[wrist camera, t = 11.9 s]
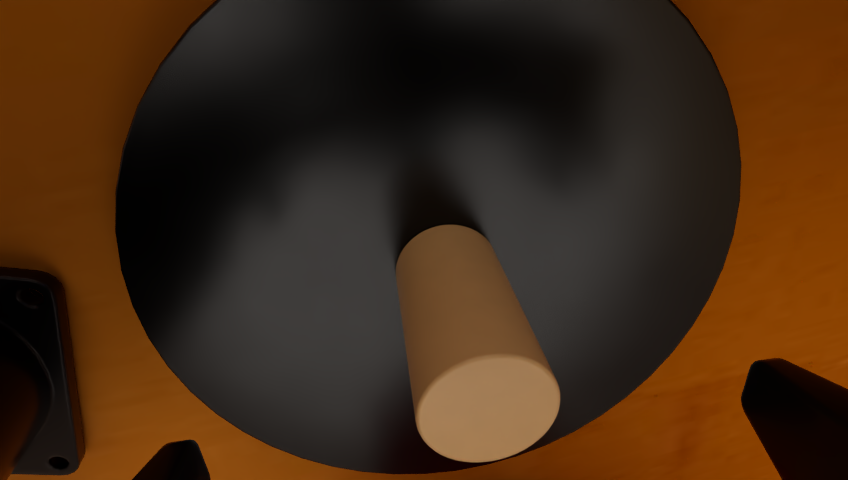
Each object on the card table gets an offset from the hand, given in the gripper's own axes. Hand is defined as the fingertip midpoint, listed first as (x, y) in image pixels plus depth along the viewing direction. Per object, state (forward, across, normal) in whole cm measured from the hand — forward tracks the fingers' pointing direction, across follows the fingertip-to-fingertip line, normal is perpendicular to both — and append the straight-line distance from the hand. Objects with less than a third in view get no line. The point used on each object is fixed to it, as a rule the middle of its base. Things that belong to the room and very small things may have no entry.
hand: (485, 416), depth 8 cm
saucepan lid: (+5, 0, 0) cm, 5 cm away
